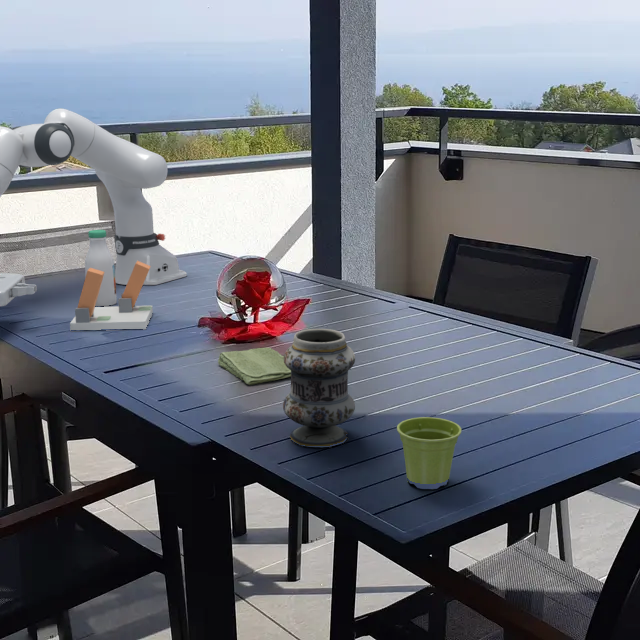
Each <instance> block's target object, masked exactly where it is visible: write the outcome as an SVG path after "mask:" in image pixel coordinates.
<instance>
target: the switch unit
mask: <svg viewBox="0 0 640 640" xmlns="http://www.w3.org/2000/svg"><path fill="white" fill-rule="evenodd" d="M123 293H124V292H123ZM123 293H121V294H120V295H121V298H118V299H117V302H118V306H115V305H113V306H104V307H95V308H94V312H93V314H92V316H91V317H90V315H89V308H77V307H75V308H74V312H75V313H74V315H75V316H74V317H73V319H72V320H71V321H70V323H69V329H70V332H72V331H71V330H101V329H143V330H147V328H148V326H147V325H149V323H150V321H151V319H150V318H152V316H153V314H154V311H153V310H154V308H153V305H136V304H135V305H134V307H133V308H132V298H122V295H123ZM152 313H153V314H152ZM149 320H150V321H149ZM146 327H147V328H146Z"/></svg>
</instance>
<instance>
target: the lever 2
mask: <svg viewBox="0 0 640 640" xmlns="http://www.w3.org/2000/svg"><path fill="white" fill-rule="evenodd" d="M150 267H151V266H149V265H147V264H144V263H142V262H140V261H137V262H136V264H135V266H134V269H133V271H132V273H131V276H130V278H129V281H128V283H127V285H126V286H125V288H124V291H123V295H122V297H121V298H132V308H133V307H134V305H135V306H136V303H137V301H138V300H137V299H138V298H139V295H140V293H141V290H142V288H143V284H144V281H145V279H146V276H147V274H148V272H149V269H150Z"/></svg>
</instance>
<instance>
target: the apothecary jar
mask: <svg viewBox="0 0 640 640" xmlns="http://www.w3.org/2000/svg"><path fill="white" fill-rule="evenodd" d="M283 356H284V363H285V365H286V366H287V368H289V369H290V370H291V377H290V392H289V393H287V395H286V396H285V398H284V400H283V403H282V408H283V413H284V414H285V415H286V416H287V417H288V419H290V420H291V421H293V422H294V423H295V424H299V425H300V426H299V427H297V428H296V429H294V430H292V431H291V433H290V435H289V438H291V439H290V441H291V440H293V441H294V442H296V443H298V444H300V445H305V446H330V445H333V444H337V443H340V442H343V441H344V440H345V439H346V438H348V437H347V436H346V434H348V435H349V433H348V431H346V430H345V429H344V428H342V427H339V426H338V425H340V424H343V423H345V422H346V421H348V419H350V418H351V417H352V416H353V414H354V413H355V411H356V402H355V400H354V398H353V397H352V396H351V395H350V393H349V389H348V387H349V386H348V383H349V382H348V381H349V380H348V379H349V371H350V370H351V368H353V366H354V364H355V362H356V355H355V352H354V351H353V349H352V348H351V347H350V346H349V345H348V344H347V341H346V337H345V334H344V332H341V331H338V330H335V329H330V328H309V329H302V330H300V331H297V332H296V333H295V334H294V336H293V342H292V345H291V346H289V347H288V348H287V349H286V351H285V352H284V354H283ZM294 442H293V443H294ZM300 445H299V446H300Z"/></svg>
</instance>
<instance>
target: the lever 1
mask: <svg viewBox="0 0 640 640" xmlns="http://www.w3.org/2000/svg"><path fill="white" fill-rule="evenodd" d="M103 276H104V272H103V271H100V270H96V269H93V268H89V269H88V271H87V274H85V278H84V280H83V281H84V282H83V285H82V290H81V293H80V296H79V301H78V304H77V307H76V308H89V315H90V317H91V316H92V314H93V312H94V308H95V305H96V301H97V298H98V294H99V290H100V287H101V283H102V280H103Z"/></svg>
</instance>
